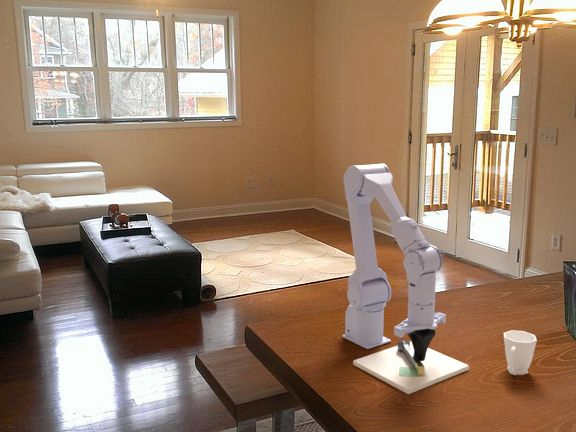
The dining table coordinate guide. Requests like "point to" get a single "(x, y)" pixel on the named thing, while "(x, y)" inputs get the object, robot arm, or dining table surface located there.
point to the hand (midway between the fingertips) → (419, 359)
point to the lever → (411, 356)
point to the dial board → (409, 368)
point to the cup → (519, 351)
